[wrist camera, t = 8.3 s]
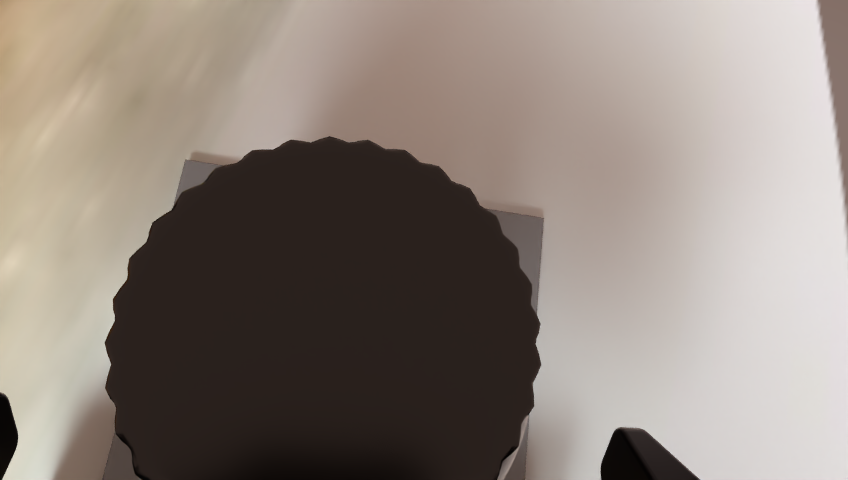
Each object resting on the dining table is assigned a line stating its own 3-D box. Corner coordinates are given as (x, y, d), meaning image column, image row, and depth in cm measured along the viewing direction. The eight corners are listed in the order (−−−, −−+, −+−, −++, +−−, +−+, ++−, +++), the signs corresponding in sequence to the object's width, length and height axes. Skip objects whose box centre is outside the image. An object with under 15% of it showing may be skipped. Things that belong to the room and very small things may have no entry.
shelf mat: (517, 535, 18) (520, 537, 17) (103, 489, 16) (99, 490, 16) (540, 220, 20) (543, 218, 20) (187, 162, 19) (185, 159, 19)
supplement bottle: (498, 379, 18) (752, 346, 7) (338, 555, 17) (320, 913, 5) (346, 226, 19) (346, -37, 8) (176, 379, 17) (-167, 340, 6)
